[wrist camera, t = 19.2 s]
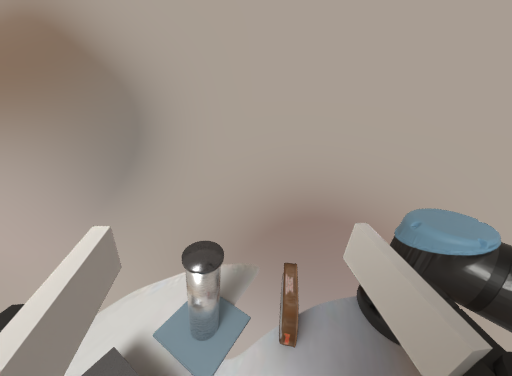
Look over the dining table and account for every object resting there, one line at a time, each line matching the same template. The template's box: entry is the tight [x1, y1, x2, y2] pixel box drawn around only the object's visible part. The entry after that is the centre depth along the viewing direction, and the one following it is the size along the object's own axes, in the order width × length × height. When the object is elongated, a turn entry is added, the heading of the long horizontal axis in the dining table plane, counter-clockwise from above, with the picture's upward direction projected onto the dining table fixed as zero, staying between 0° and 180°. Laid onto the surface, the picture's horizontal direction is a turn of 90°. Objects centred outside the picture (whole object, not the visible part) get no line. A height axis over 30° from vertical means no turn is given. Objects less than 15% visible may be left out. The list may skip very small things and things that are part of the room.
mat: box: [153, 296, 250, 376], centre depth 38 cm, size 12×12×1 cm
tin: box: [279, 263, 298, 348], centre depth 40 cm, size 15×3×8 cm, turn 171°
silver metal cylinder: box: [182, 241, 224, 341], centre depth 34 cm, size 6×6×17 cm
